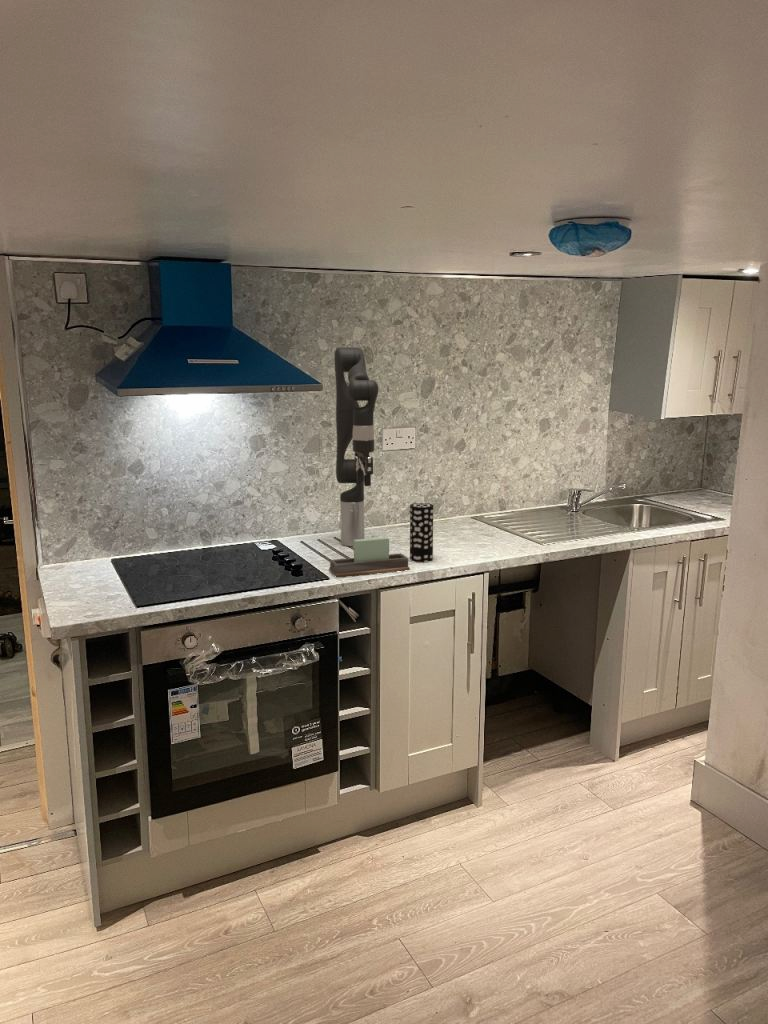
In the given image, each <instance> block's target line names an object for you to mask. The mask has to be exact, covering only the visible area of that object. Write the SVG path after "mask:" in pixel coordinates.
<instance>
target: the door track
mask: <svg viewBox="0 0 768 1024" xmlns="http://www.w3.org/2000/svg"><path fill="white" fill-rule="evenodd" d="M328 570H329V572H330V573H331V574H332V575H333V574H334V575H335V576H336V577H342V578H347V577H346V576H352V577H360V576H359V575H362V576H371V575H370V574H372V575H378V574H377V573H382V574H388V573H387V572H392V573H398V572H397V571H401V572H406V571H405V570H411V569H410V566H409V558H408V557H407V556H406V555H404V554H403V553H400V552H398V553H389V559H383V560H373V561H362V562H354V557H348V558H347V557H346V558H337V559H330V560H329V568H328ZM334 575H333V576H334ZM335 576H334V577H335Z"/></svg>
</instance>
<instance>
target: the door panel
mask: <svg viewBox="0 0 768 1024" xmlns="http://www.w3.org/2000/svg"><path fill="white" fill-rule="evenodd" d="M389 554H390V538H389V537H388V536H384V537H373V538H372V537H371V538H364V539H358V540H354V546H353V558H354V562H362V561H373V560H383V559H389Z"/></svg>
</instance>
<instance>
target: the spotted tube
mask: <svg viewBox="0 0 768 1024" xmlns="http://www.w3.org/2000/svg"><path fill="white" fill-rule="evenodd" d="M433 559H434V504H432V503H426V502H416V503H412V504H409V560H410V561H411V562H413V561H414V562H413V563H421V562H422V563H429V562H428V561H430V562H433Z"/></svg>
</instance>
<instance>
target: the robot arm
mask: <svg viewBox="0 0 768 1024" xmlns="http://www.w3.org/2000/svg"><path fill="white" fill-rule="evenodd" d="M365 359H366V358H365V353H364V351H363V349H362V348H359V347H348V346H347V347H346V346H344V347H342V346H341V347H336V349H335V350H334V374H335V375H334V376H335V389H336V391H335V392H336V393H335V394H336V397H335V398H336V402H335V423H336V424H335V426H336V428H335V429H336V459H335V460H336V461H335V462H336V463H335V476H336V481H337V482H338V483H339V484H355V485H354V486H353V487H352V488H350V489H348V490H345V491H342V492H341V493H340V496H339V500H340V501H339V503H340V504H339V505H340V507H339V508H340V545H342V546H346V547H354V540H358V539H365V487H370V486H372V483H371V482H372V475H374V457H373V456H370V453H373V452H374V451H375V427H374V411H375V405H376V402H377V398H378V395H379V384H378V383H377V381H375V380H373V379H370V378H369V375H368V373H367V366H366V360H365ZM345 373H347V379H348V383H347V380H346V377H345ZM360 401H362V402H364V401H366V402H367V403H366V404H365V405H363V406H361V407H360V403H359V402H360ZM351 441H352V451H353V453H354V458H347V459H346V458H345V456H346V452H347V449H348V447H349V446H350V443H351Z"/></svg>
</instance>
